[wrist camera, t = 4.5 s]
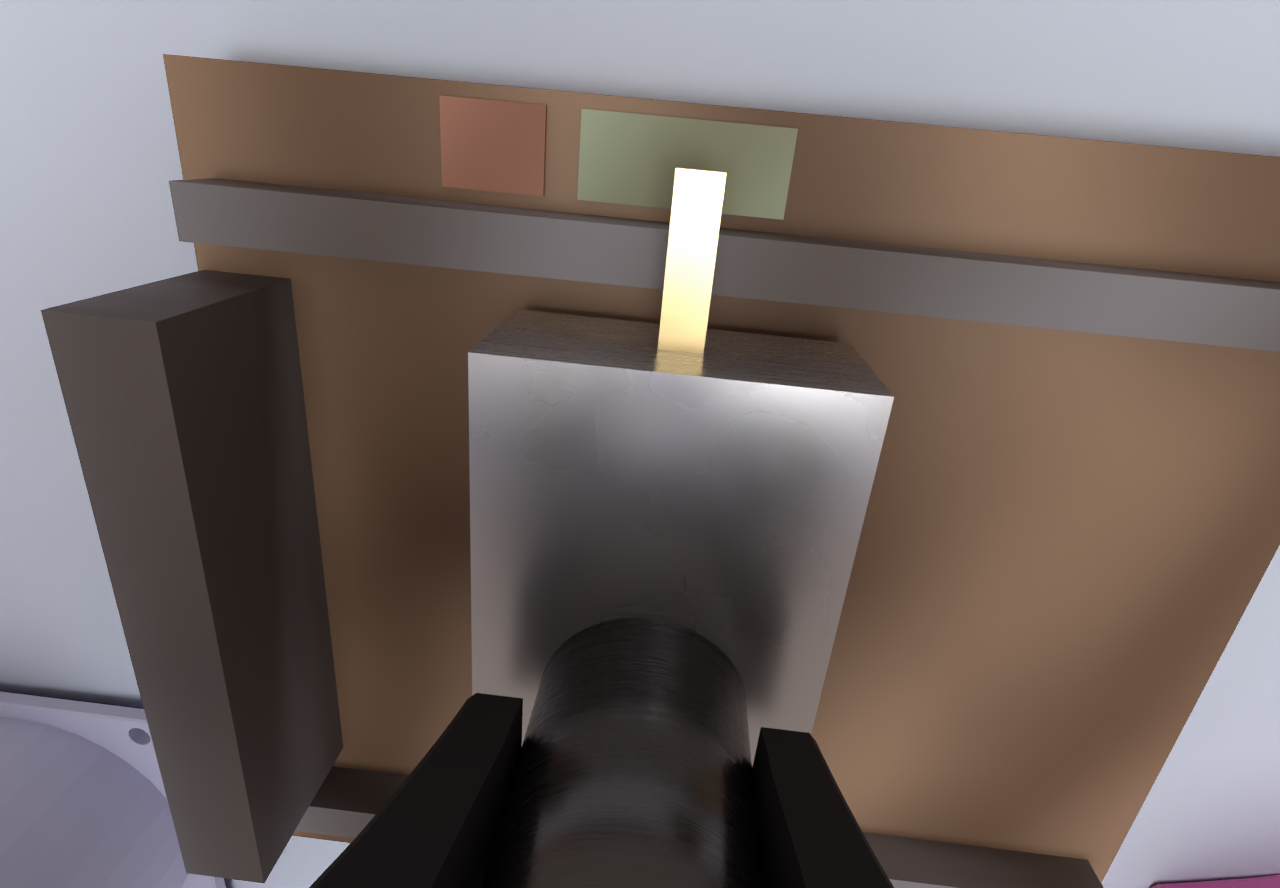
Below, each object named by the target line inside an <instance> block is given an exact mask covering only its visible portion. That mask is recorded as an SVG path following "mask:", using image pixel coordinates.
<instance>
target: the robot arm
mask: <svg viewBox="0 0 1280 888" xmlns="http://www.w3.org/2000/svg"><path fill="white" fill-rule="evenodd" d="M522 716H523V698H516V697H507V696H499V695H491V694H482V693H475V694H474V695H472V696H471V697H469V698H468V699H467V700H466V702H465V703H464V705H463V706H462V707H461V709H460V710H459V712H458V713H457V714H456V716H455V717H454V718H453V720H452V721H451V722H450V724H449V725H448V726H447V728H446V729H445V730H444V732H443V733H442V734H441V736H440V737H439V738H438V740H437V741H436V742H435V744H434V745H433V746H432V747H431V749H430V750H429V751H428V752H427V754H426V755H425V756H424V757H423V759H422V760H421V761H420V762H419V764H418V765H417V766H416V767H415V769H414V770H413V771H412V772H411V774H410V775H409V776H408V777H407V778H406V780H405V781H404V782H403V783H402V785H401V786H400V787H399V788H398V789H397V790H396V792H395V793H394V794H393V795H392V796H391V797H390V799H389V800H388V801H387V802H386V803H385V804H384V805H383V807H382V808H381V809H380V810H379V811H378V812H377V814H376V815H375V816H374V817H373V818H372V819H371V821H370V822H369V823H368V824H367V825H366V826H365V828H364V829H363V830H362V831H361V832H360V833H359V835H358V836H357V837H356V838H355V839H354V840H353V841H352V842H351V843H350V845H349V846H348V847H347V848H346V849H345V850H344V851H343V852H342V853H341V854H340V856H339V857H338V858H337V859H336V860H335V861H334V862H333V863H332V864H331V865H330V866H329V867H328V868H327V869H326V870H325V871H324V872H323V874H322V875H321V876H320V877H319V878H318V879H317V880H316V881H315V882H314V883H313V884H312V885H311V886H310V887H309V888H481V887H482V884H483V881H484V877H485V874H486V870H487V867H488V863H489V860H490V856H491V853H492V849H493V846H494V842H495V839H496V835H497V832H498V828H499V825H500V821H501V818H502V814H503V811H504V807H505V804H506V800H507V797H508V793H509V790H510V786H511V783H512V779H513V776H514V772H515V769H516V765H517V762H518V758H519V755H520V751H521V748H522ZM752 770H753V781H754V791H755V802H756V812H757V823H758V833H759V844H760V854H761V865H762V875H763V886H764V888H894V887H893V885H892V883H891V881H890V880H889V878H888V876H887V875H886V873H885V871H884V870H883V868H882V866H881V864H880V863H879V861H878V859H877V857H876V856H875V854H874V852H873V850H872V848H871V847H870V845H869V843H868V841H867V840H866V838H865V836H864V834H863V832H862V830H861V828H860V827H859V825H858V823H857V821H856V819H855V817H854V815H853V814H852V812H851V810H850V808H849V806H848V804H847V802H846V800H845V798H844V797H843V795H842V793H841V791H840V789H839V787H838V785H837V783H836V781H835V779H834V777H833V775H832V773H831V771H830V769H829V767H828V765H827V763H826V761H825V759H824V757H823V755H822V753H821V751H820V749H819V746H818V744H817V742H816V740H815V739H814V738H813V737H812V736H811V734H810V733H807V732H799V731H790V730H782V729H774V728H765V727H761V729H760V734H759V738H758V743H757V748H756V753H755V758H754V762H753V767H752ZM0 888H226V886H225V881H224V878H220V877H212V876H204V875H197V874H189V873H186V870H185V866H184V862H183V858H182V854H181V850H180V847H179V843H178V839H177V835H176V831H175V827H174V823H173V819H172V816H171V812H170V808H169V804H168V800H167V796H166V792H165V789H164V785H163V781H162V777H161V773H160V769H159V765H158V761H157V758H156V754H155V750H154V746H153V742H152V738H151V734H150V730H149V727H148V723H147V719H146V715H145V711H144V709H139V708H131V707H123V706H115V705H106V704H98V703H90V702H82V701H74V700H65V699H57V698H49V697H41V696H33V695H25V694H16V693H8V692H0Z"/></svg>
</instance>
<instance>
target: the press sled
mask: <svg viewBox="0 0 1280 888" xmlns="http://www.w3.org/2000/svg"><path fill="white" fill-rule="evenodd" d="M725 181H726V172H722V171H712V170H702V169H691V168H681V167H676V170H675V180H674V190H673V200H672V210H671V220H670V230H669V240H668V250H667V260H666V270H665V280H664V290H663V300H662V310H661V320H660V324H656V323H646V322H637V321H627V320H617V319H607V318H598V317H588V316H578V315H568V314H559V313H549V312H539V311H529V310H519V309H515V310H514V311H513V312H512V313H511V314H510V315H509V316H508V317H507V318H506V319H504V320H503V321H502V322H501V323H500V324H499V325H498V326H497V327H496V328H494V329H493V330H492V331H491V332H490V333H489V334H488V335H487V336H486V337H485V338H483V339H482V340H481V341H480V342H479V343H478V344H477V345H476V346H475V347H473V348H472V349H471V350H470V351H469V352H468V386H469V468H470V549H471V630H472V695H474V694H475V693H482V694H491V695H499V696H507V697H516V698H523V716H522V748H521V751H520V755H519V758H518V762H517V765H516V769H515V772H514V776H513V779H512V783H511V786H510V790H509V793H508V797H507V800H506V804H505V807H504V811H503V814H502V818H501V821H500V825H499V828H498V832H497V835H496V839H495V842H494V846H493V849H492V853H491V856H490V860H489V863H488V867H487V870H486V874H485V877H484V881H483V884H482V887H481V888H764V886H763V875H762V865H761V854H760V844H759V833H758V823H757V812H756V802H755V791H754V781H753V770H752V767H753V762H754V758H755V753H756V748H757V743H758V738H759V734H760V729H761V727H765V728H774V729H782V730H790V731H799V732H807V733H810V734H811V733H812V729H813V725H814V721H815V717H816V713H817V709H818V705H819V701H820V697H821V693H822V688H823V684H824V680H825V676H826V672H827V668H828V664H829V660H830V656H831V652H832V648H833V644H834V640H835V636H836V632H837V627H838V623H839V619H840V615H841V611H842V607H843V603H844V599H845V595H846V591H847V587H848V583H849V579H850V575H851V571H852V566H853V562H854V558H855V554H856V550H857V546H858V542H859V538H860V534H861V530H862V526H863V522H864V518H865V514H866V510H867V506H868V501H869V497H870V493H871V489H872V485H873V481H874V477H875V473H876V469H877V465H878V461H879V457H880V453H881V449H882V445H883V440H884V436H885V432H886V428H887V424H888V420H889V416H890V412H891V408H892V404H893V400H894V396H893V395H892V394H891V392H890V391H889V390H888V389H887V387H886V386H885V385H884V384H883V382H882V381H881V380H880V379H879V377H878V376H877V375H876V374H875V373H874V371H873V370H872V369H871V368H870V366H869V365H868V364H867V363H866V361H865V360H864V359H863V358H862V356H861V355H860V354H859V353H858V352H857V350H856V349H855V348H854V347H853V345H852V344H851V343H842V342H832V341H822V340H813V339H803V338H793V337H783V336H774V335H764V334H754V333H744V332H734V331H725V330H715V329H707V323H708V315H709V307H710V299H711V291H712V283H713V276H714V268H715V260H716V252H717V244H718V236H719V228H720V220H721V213H722V205H723V197H724V189H725Z"/></svg>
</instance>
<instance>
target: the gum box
mask: <svg viewBox="0 0 1280 888" xmlns="http://www.w3.org/2000/svg"><path fill="white" fill-rule="evenodd" d="M1152 888H1280V874H1278V875H1270V876H1262V877H1254V878H1243V879H1229V880H1215V881H1201V882H1187V883H1170V884H1157V885H1155V886H1153V887H1152Z"/></svg>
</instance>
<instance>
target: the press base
mask: <svg viewBox="0 0 1280 888" xmlns="http://www.w3.org/2000/svg"><path fill="white" fill-rule="evenodd" d="M163 57H164V64H165V70H166V76H167V82H168V88H169V94H170V100H171V106H172V112H173V119H174V125H175V131H176V137H177V143H178V149H179V155H180V161H181V167H182V174H183V180H176V181H169V184H170V190H171V196H172V202H173V207H174V213H175V219H176V225H177V231H178V236H179V241H184V242H194V247H195V253H196V259H197V265H198V271H197V272H193V273H189V274H185V275H181V276H177V277H173V278H169V279H165V280H161V281H157V282H153V283H149V284H145V285H141V286H137V287H133V288H129V289H125V290H121V291H117V292H113V293H109V294H105V295H101V296H97V297H93V298H89V299H84V300H80V301H76V302H72V303H68V304H64V305H60V306H56V307H52V308H48V309H44V310H41V312H42V316H43V320H44V324H45V328H46V332H47V335H48V339H49V343H50V347H51V351H52V355H53V359H54V363H55V366H56V370H57V374H58V378H59V382H60V386H61V390H62V394H63V397H64V401H65V405H66V409H67V413H68V417H69V421H70V425H71V428H72V432H73V436H74V440H75V444H76V448H77V452H78V455H79V459H80V463H81V467H82V471H83V475H84V479H85V483H86V486H87V490H88V494H89V498H90V502H91V506H92V510H93V514H94V517H95V521H96V525H97V529H98V533H99V537H100V541H101V545H102V548H103V552H104V556H105V560H106V564H107V568H108V572H109V576H110V579H111V583H112V587H113V591H114V595H115V599H116V603H117V607H118V610H119V614H120V618H121V622H122V626H123V630H124V634H125V637H126V641H127V645H128V649H129V653H130V657H131V661H132V665H133V668H134V672H135V676H136V680H137V684H138V688H139V692H140V696H141V699H142V703H143V707H144V711H145V715H146V719H147V723H148V727H149V730H150V734H151V738H152V742H153V746H154V750H155V754H156V758H157V761H158V765H159V769H160V773H161V777H162V781H163V785H164V789H165V792H166V796H167V800H168V804H169V808H170V812H171V816H172V819H173V823H174V827H175V831H176V835H177V839H178V843H179V847H180V850H181V854H182V858H183V862H184V866H185V870H186V873H189V874H197V875H204V876H212V877H220V878H227V879H235V880H243V881H251V882H258V883H265V881H266V879H267V877H268V876H269V874H270V872H271V871H272V869H273V867H274V865H275V864H276V862H277V860H278V859H279V857H280V855H281V853H282V852H283V850H284V848H285V847H286V845H287V843H288V841H289V840H290V838H291V836H292V835H293V836H300V837H308V838H316V839H324V840H332V841H340V842H348V843H351V842H352V841H353V840H354V839H355V838H356V837H357V836H358V835H359V833H360V832H361V831H362V830H363V829H364V828H365V826H366V825H367V824H368V823H369V822H370V821H371V819H372V818H373V817H374V816H375V815H376V814H377V812H378V811H379V810H380V809H381V808H382V807H383V805H384V804H385V803H386V802H387V801H388V800H389V799H390V797H391V796H392V795H393V794H394V793H395V792H396V790H397V789H398V788H399V787H400V786H401V785H402V783H403V782H404V781H405V780H406V778H407V777H408V776H409V775H410V774H411V772H412V771H413V770H414V769H415V767H416V766H417V765H418V764H419V762H420V761H421V760H422V759H423V757H424V756H425V755H426V754H427V752H428V751H429V750H430V749H431V747H432V746H433V745H434V744H435V742H436V741H437V740H438V738H439V737H440V736H441V734H442V733H443V732H444V730H445V729H446V728H447V726H448V725H449V724H450V722H451V721H452V720H453V718H454V717H455V716H456V714H457V713H458V712H459V710H460V709H461V707H462V706H463V705H464V703H465V702H466V700H467V699H468V698H469V697H471V696H472V630H471V549H470V468H469V386H468V352H469V351H470V350H471V349H472V348H473V347H475V346H476V345H477V344H478V343H479V342H480V341H481V340H482V339H483V338H485V337H486V336H487V335H488V334H489V333H490V332H491V331H492V330H493V329H494V328H496V327H497V326H498V325H499V324H500V323H501V322H502V321H503V320H504V319H506V318H507V317H508V316H509V315H510V314H511V313H512V312H513V311H514V310H515V309H519V310H529V311H539V312H549V313H559V314H568V315H578V316H588V317H598V318H607V319H617V320H627V321H637V322H646V323H656V324H660V320H661V310H662V300H663V290H664V280H665V270H666V260H667V250H668V240H669V230H670V220H671V210H672V200H673V190H674V180H675V170H676V167H681V168H691V169H702V170H712V171H722V172H726V181H725V189H724V197H723V205H722V213H721V220H720V228H719V236H718V244H717V252H716V260H715V268H714V276H713V283H712V291H711V299H710V307H709V315H708V323H707V329H715V330H725V331H734V332H744V333H754V334H764V335H774V336H783V337H793V338H803V339H813V340H822V341H832V342H842V343H851V344H852V345H853V347H854V348H855V349H856V350H857V352H858V353H859V354H860V355H861V356H862V358H863V359H864V360H865V361H866V363H867V364H868V365H869V366H870V368H871V369H872V370H873V371H874V373H875V374H876V375H877V376H878V377H879V379H880V380H881V381H882V382H883V384H884V385H885V386H886V387H887V389H888V390H889V391H890V392H891V394H892V395H893V396H894V400H893V404H892V408H891V412H890V416H889V420H888V424H887V428H886V432H885V436H884V440H883V445H882V449H881V453H880V457H879V461H878V465H877V469H876V473H875V477H874V481H873V485H872V489H871V493H870V497H869V501H868V506H867V510H866V514H865V518H864V522H863V526H862V530H861V534H860V538H859V542H858V546H857V550H856V554H855V558H854V562H853V566H852V571H851V575H850V579H849V583H848V587H847V591H846V595H845V599H844V603H843V607H842V611H841V615H840V619H839V623H838V627H837V632H836V636H835V640H834V644H833V648H832V652H831V656H830V660H829V664H828V668H827V672H826V676H825V680H824V684H823V688H822V693H821V697H820V701H819V705H818V709H817V713H816V717H815V721H814V725H813V729H812V733H811V736H812V737H813V738H814V739H815V740H816V742H817V744H818V746H819V749H820V751H821V753H822V755H823V757H824V759H825V761H826V763H827V765H828V767H829V769H830V771H831V773H832V775H833V777H834V779H835V781H836V783H837V785H838V787H839V789H840V791H841V793H842V795H843V797H844V798H845V800H846V802H847V804H848V806H849V808H850V810H851V812H852V814H853V815H854V817H855V819H856V821H857V823H858V825H859V827H860V828H861V830H862V832H863V834H864V836H865V838H866V840H867V841H868V843H869V845H870V847H871V848H872V850H873V852H874V854H875V856H876V857H877V859H878V861H879V863H880V864H881V866H882V868H883V870H884V871H885V873H886V875H887V876H888V878H889V880H890V881H891V883H892V885H893V887H894V888H1103V886H1102V884H1101V882H1102V881H1103V879H1104V877H1105V875H1106V873H1107V871H1108V869H1109V867H1110V865H1111V863H1112V862H1113V860H1114V858H1115V856H1116V854H1117V852H1118V850H1119V848H1120V846H1121V844H1122V843H1123V841H1124V839H1125V837H1126V835H1127V833H1128V831H1129V829H1130V827H1131V826H1132V824H1133V822H1134V820H1135V818H1136V816H1137V814H1138V812H1139V810H1140V808H1141V807H1142V805H1143V803H1144V801H1145V799H1146V797H1147V795H1148V793H1149V791H1150V789H1151V788H1152V786H1153V784H1154V782H1155V780H1156V778H1157V776H1158V774H1159V772H1160V771H1161V769H1162V767H1163V765H1164V763H1165V761H1166V759H1167V757H1168V755H1169V753H1170V752H1171V750H1172V748H1173V746H1174V744H1175V742H1176V740H1177V738H1178V736H1179V734H1180V733H1181V731H1182V729H1183V727H1184V725H1185V723H1186V721H1187V719H1188V717H1189V716H1190V714H1191V712H1192V710H1193V708H1194V706H1195V704H1196V702H1197V700H1198V698H1199V697H1200V695H1201V693H1202V691H1203V689H1204V687H1205V685H1206V683H1207V681H1208V679H1209V678H1210V676H1211V674H1212V672H1213V670H1214V668H1215V666H1216V664H1217V662H1218V660H1219V659H1220V657H1221V655H1222V653H1223V651H1224V649H1225V647H1226V645H1227V643H1228V642H1229V640H1230V638H1231V636H1232V634H1233V632H1234V630H1235V628H1236V626H1237V624H1238V623H1239V621H1240V619H1241V617H1242V615H1243V613H1244V611H1245V609H1246V607H1247V605H1248V604H1249V602H1250V600H1251V598H1252V596H1253V594H1254V592H1255V590H1256V588H1257V587H1258V585H1259V583H1260V581H1261V579H1262V577H1263V575H1264V573H1265V571H1266V569H1267V568H1268V566H1269V564H1270V562H1271V560H1272V558H1273V556H1274V554H1275V552H1276V550H1277V549H1278V547H1279V545H1280V157H1271V156H1260V155H1249V154H1238V153H1227V152H1217V151H1206V150H1195V149H1184V148H1173V147H1163V146H1152V145H1141V144H1130V143H1119V142H1108V141H1098V140H1087V139H1076V138H1065V137H1054V136H1044V135H1033V134H1022V133H1011V132H1000V131H989V130H979V129H968V128H957V127H946V126H935V125H924V124H914V123H903V122H892V121H881V120H870V119H860V118H849V117H838V116H827V115H816V114H805V113H795V112H784V111H773V110H762V109H751V108H741V107H730V106H719V105H708V104H697V103H686V102H676V101H665V100H654V99H643V98H632V97H621V96H611V95H600V94H589V93H578V92H567V91H557V90H546V89H535V88H524V87H513V86H502V85H492V84H481V83H470V82H459V81H448V80H437V79H427V78H416V77H405V76H394V75H383V74H373V73H362V72H351V71H340V70H329V69H318V68H308V67H297V66H286V65H275V64H264V63H254V62H243V61H232V60H221V59H210V58H199V57H189V56H178V55H167V54H163Z"/></svg>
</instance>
